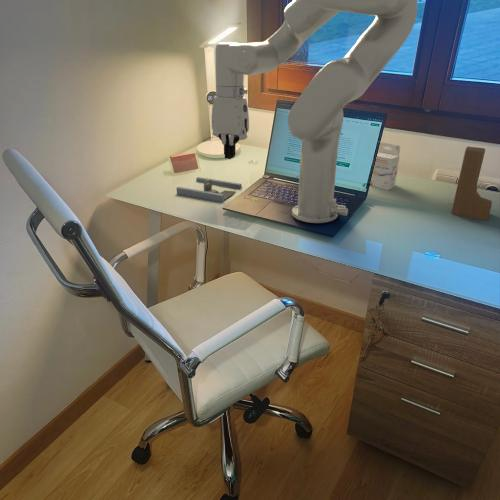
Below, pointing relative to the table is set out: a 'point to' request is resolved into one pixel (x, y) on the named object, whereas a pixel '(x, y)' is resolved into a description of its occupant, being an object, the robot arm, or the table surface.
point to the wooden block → (471, 187)
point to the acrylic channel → (210, 195)
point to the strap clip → (209, 187)
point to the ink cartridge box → (385, 166)
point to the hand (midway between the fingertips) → (229, 157)
